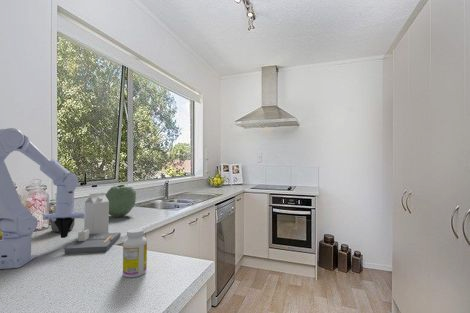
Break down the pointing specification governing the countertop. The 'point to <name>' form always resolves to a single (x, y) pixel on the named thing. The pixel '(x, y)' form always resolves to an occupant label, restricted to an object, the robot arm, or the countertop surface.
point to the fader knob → (83, 235)
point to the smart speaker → (53, 225)
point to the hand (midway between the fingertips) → (64, 237)
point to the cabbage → (121, 200)
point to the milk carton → (97, 213)
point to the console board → (93, 243)
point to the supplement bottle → (134, 253)
